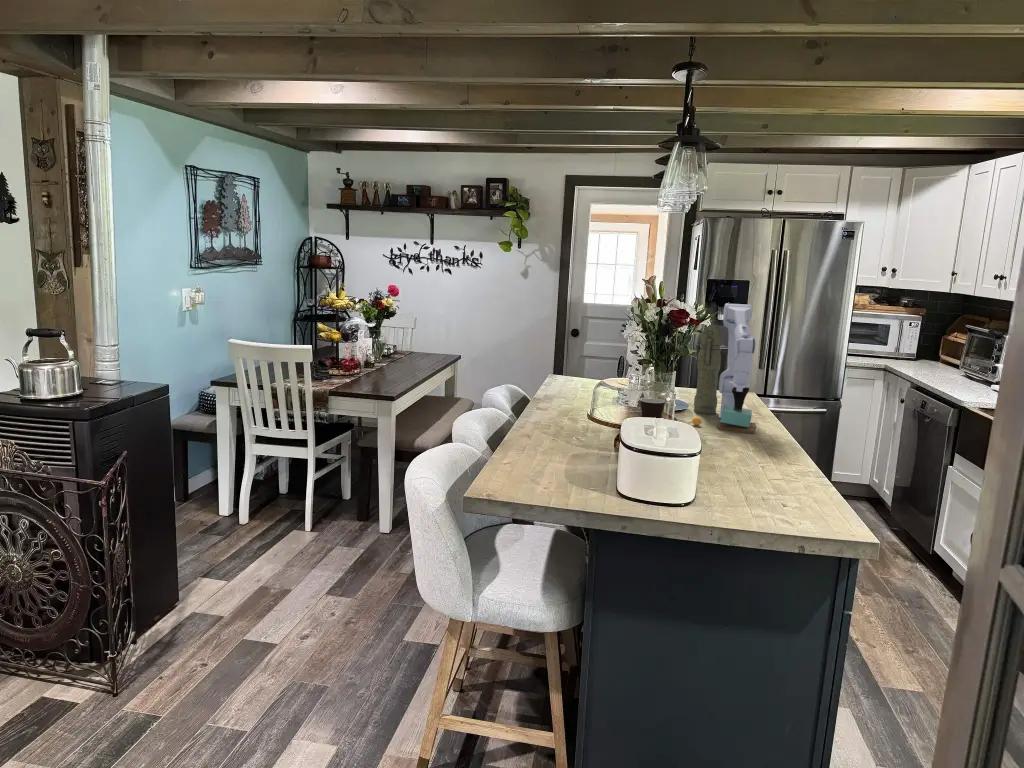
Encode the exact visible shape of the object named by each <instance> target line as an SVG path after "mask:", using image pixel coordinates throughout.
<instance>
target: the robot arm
mask: <svg viewBox="0 0 1024 768" xmlns="http://www.w3.org/2000/svg"><path fill="white" fill-rule="evenodd" d="M752 314H753V307H752V305H751V304H750V303H749V304H741V303H727V302H726V303H725V304H724V307H723V318H722V323H723V326H724V327H725V328H727V332H728V347H727V368H726V370H724V371H723V372H722V371H721V373H720V375H719V379H718V393H719V394H721V402H720V413H719V414H718V416H717V417H718V418H720V419H721V415H722V410H723V406H724V405H726V406H732V407H734V402H735V409H740V410H741V409H742V408H744V407H743V406H744V403H745V401H746V400H745V399H746V396H747V395H748V393H749V391H750V388H749V387H751V375H752V374H751V371H752V364H753V363H752V362H753V355H754V353H755V351H756V338H755V337H754V336H752V330H751V327H750V326H749V324H750V321H751V318H752Z"/></svg>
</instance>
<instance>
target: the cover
mask: <svg viewBox="0 0 1024 768" xmlns="http://www.w3.org/2000/svg"><path fill="white" fill-rule="evenodd" d="M752 415H753V410H752V409H747V408H744V407H742V409H741V410H740V409H735V402H734V407H732V406H726V405H724V406H723V410H722V415H721V418H720V423H721V422H722V423H728V424H733V425H738V426H744V427H750V423H752V422H751V420H752Z"/></svg>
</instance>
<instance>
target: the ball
mask: <svg viewBox="0 0 1024 768" xmlns="http://www.w3.org/2000/svg"><path fill="white" fill-rule="evenodd" d="M691 422H692V424H693V425H694V426H696V427H697V426H700V425H701V424H702V419H701V418H700V417H699V416H694V417H693V418H692V420H691Z"/></svg>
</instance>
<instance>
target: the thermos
mask: <svg viewBox="0 0 1024 768" xmlns="http://www.w3.org/2000/svg"><path fill="white" fill-rule="evenodd" d="M721 344H722V329H721V326H720V325H718V324H712V323H711V324H709V326H708V327H707V328H706V329H705V330H704V331H701V336H700V347H699V348H700V349H699V352H698V355H697V364H696V365H697V367H696V369H697V380H696V381H697V382H696V393H695V395H694V400H693V407H694V408H693V412H694V413H696V414H700V415H715V414H716V413H717V407H718V396H717V393H718V384H719V372H720V370H721V364H722V363H721V360H722V355H721Z"/></svg>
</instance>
